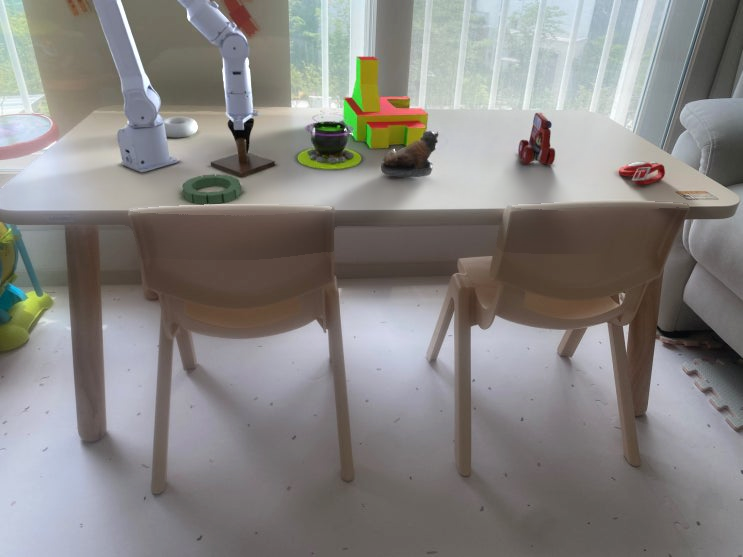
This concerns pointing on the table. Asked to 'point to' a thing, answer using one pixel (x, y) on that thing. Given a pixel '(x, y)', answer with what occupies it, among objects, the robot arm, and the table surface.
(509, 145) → the table surface
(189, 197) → the ring
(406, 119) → the building blocks toy
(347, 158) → the toy cauldron
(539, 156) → the toy fire truck
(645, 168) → the tracker holder
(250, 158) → the post
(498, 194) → the table surface
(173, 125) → the donut
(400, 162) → the brown cat figurine
